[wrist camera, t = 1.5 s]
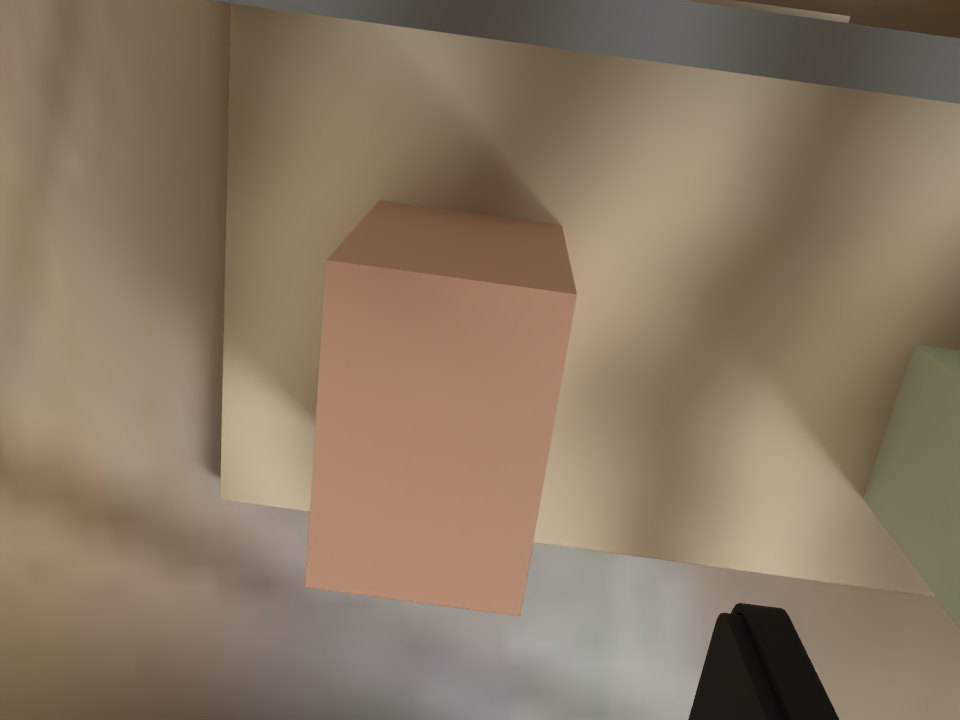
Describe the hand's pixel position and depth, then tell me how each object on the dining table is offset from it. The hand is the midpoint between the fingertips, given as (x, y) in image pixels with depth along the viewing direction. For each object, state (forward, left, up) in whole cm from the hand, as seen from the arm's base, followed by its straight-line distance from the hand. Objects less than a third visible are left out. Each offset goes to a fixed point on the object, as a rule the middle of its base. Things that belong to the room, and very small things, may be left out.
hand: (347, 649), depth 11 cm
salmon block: (0, 0, -12) cm, 12 cm away
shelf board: (-8, -1, -13) cm, 15 cm away
